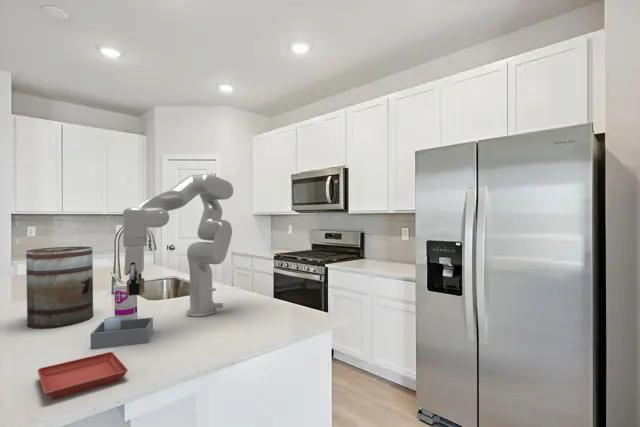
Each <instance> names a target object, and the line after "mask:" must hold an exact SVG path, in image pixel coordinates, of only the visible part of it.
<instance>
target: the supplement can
mask: <svg viewBox="0 0 640 427" xmlns="http://www.w3.org/2000/svg"><path fill="white" fill-rule="evenodd" d="M113 292H114V317H120V318H121V320H130V319H138V295H132V296H127V282H122V283H118V284H116V285H115V287H114V291H113Z"/></svg>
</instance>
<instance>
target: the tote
mask: <svg viewBox="0 0 640 427" xmlns="http://www.w3.org/2000/svg"><path fill="white" fill-rule="evenodd" d="M153 331H154V317H143V318H136V319H130V320H121V326H120V330H119V331H109V332H104V321H101V322H100V323H99V324H98V325H97V326H96V327H95V328H94V330H93V331H92V332H90V350H93V349H101V348H111V347H118V346H119V347H121V346H129V345H131V346H132V345H139V344H147V343H149V341H150V339H151V336H152V334H153Z"/></svg>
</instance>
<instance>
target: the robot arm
mask: <svg viewBox="0 0 640 427" xmlns="http://www.w3.org/2000/svg"><path fill="white" fill-rule="evenodd" d="M233 194H234V187H233V185H232V183H231V182H229V181H228V180H226V179H224V178H221V177H219V176H215V175H213V174H208V173H201V174H198V173H197V174H190V175H188V176H187V177H185V178H184V179H182V180H181V181H180V182H178V183H177V184H176V185H174V186H173V187H172V188H170V189H169V190H166V191H164V192H162V193H159V194H157V195H156V196H153V197H151V198H149V199H148V200H145V201H144V202H142V203H141V204H139V205H138V206H137V207H128V208H127V207H126V208H124V210H123V212H122V217H123V218H122V219H123V221H122V222H123V224H122V227H123V228H122V230H123V232H122V234H123V236H122V237H123V238H122V239H123V242H122V243H123V247H124V248H125V254H124V255H125V256H124V275H125V276H128V275H129V277H128V280H129V295H137V296H139V295H138V294H139V283H138V279H140V278H143V277H142V273H143V271H144V270H145V249H144V247H148V228H162V227H165V226H166V225H168V223H169V221H170V214H169V211H174V210H179V209H180V208H183V207H185V206H186V205H187V204H188V203H190V202H191V201H193V199H194V198H196V197H197V196H198V195H199V196H200V199H201V202H202V204H203V212H202V215H201V218H200V222H199V225H198V227H197V228H198V229H197V237H198V238H199V239H200V240H203V241H197V242H193V243H191V244H190V245H189V246H188V248H187V250H186V257H187V260H188V266H189V309H188V310H186V312H185V313H186V316H188V317H193V318H194V317H195V318H198V317H199V318H200V317H206V316H212V315H214V314H215V313H216V312H217V309H219V308H220V309H221V308H222V309H223V308H224V303H223V302H221V303H220V302H217V303H215V302H214V300H213V271H212V268H211V265H221V264H222V263H224V261H225V260H226V257H227V254H228V251H229V247H230V244H231V240H232V236H233V228H232V224H231V223H230V222H229V221H228V220H225V219H222V216H223V208H222V206H221V204H220V202H219V200H220V201H223V200H228V199H230V198H232V197H233ZM206 241H207V242H206ZM208 241H209V242H208ZM210 241H211V242H210Z"/></svg>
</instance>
